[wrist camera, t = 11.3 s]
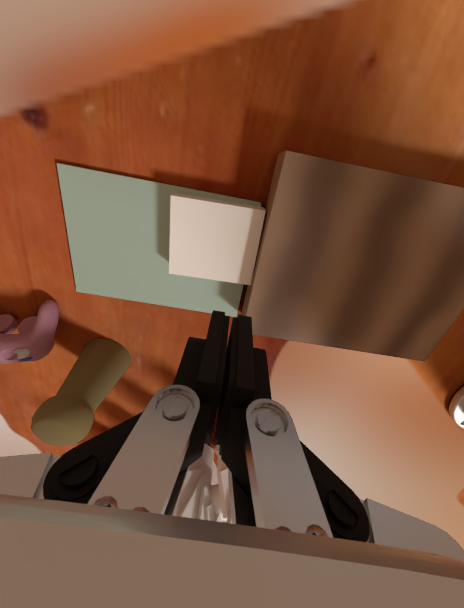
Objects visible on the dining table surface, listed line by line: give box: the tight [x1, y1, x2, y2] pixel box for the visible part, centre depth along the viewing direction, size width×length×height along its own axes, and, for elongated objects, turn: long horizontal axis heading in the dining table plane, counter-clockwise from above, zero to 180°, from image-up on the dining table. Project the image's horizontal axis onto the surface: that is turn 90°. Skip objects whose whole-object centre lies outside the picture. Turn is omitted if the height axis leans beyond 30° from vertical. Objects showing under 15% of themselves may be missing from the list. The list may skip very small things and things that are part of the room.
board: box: [241, 150, 464, 361], centre depth 23 cm, size 20×16×4 cm
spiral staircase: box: [174, 444, 232, 524], centre depth 34 cm, size 18×18×25 cm
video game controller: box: [0, 299, 59, 364], centre depth 27 cm, size 10×5×7 cm, turn 85°
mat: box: [57, 163, 261, 317], centre depth 25 cm, size 18×12×1 cm
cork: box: [31, 338, 131, 446], centre depth 27 cm, size 6×6×11 cm
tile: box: [169, 193, 266, 285], centre depth 23 cm, size 8×7×2 cm
